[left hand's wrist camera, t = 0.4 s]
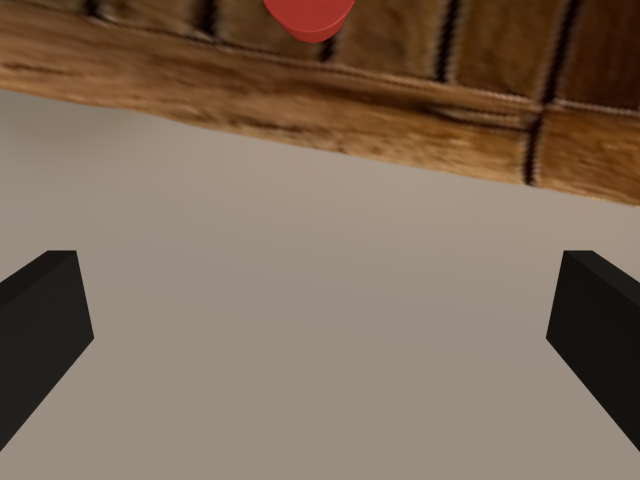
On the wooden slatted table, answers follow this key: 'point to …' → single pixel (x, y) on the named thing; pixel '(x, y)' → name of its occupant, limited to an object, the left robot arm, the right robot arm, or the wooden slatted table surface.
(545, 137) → the wooden slatted table surface
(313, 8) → the cylinder
